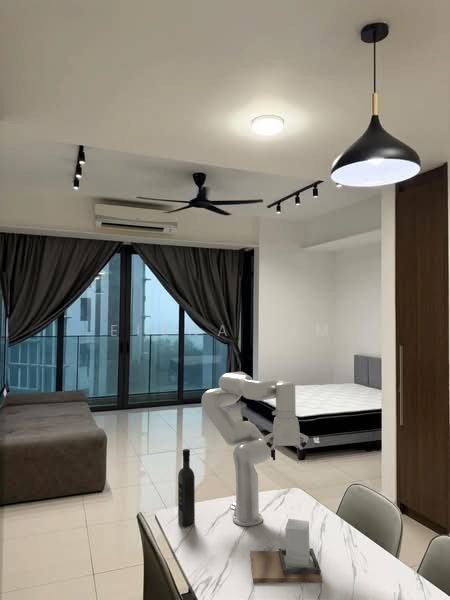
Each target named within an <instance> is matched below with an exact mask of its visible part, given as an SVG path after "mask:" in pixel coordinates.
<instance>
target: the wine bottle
mask: <svg viewBox="0 0 450 600" xmlns="http://www.w3.org/2000/svg"><path fill="white" fill-rule="evenodd" d="M190 455H191V450H190V449H188V448H184V449H182V467H181V469H179V471H178V475H177V504H178V505H177V521H178V522H177V523H178V524H179V525H180V526H181V527H183V528H187V526H188V527H190V526H191V525H192V526H195V525H196V523H195V522H196V515H195V514H196V513H195V511H196V509H195V507H196V506H195V503H196V502H195V501H196V499H195V498H196V497H195V496H196V495H195V493H196V490H195V485H196V483H195V482H196V481H195V479H196V478H195V473H194V472H195V471H193V469H192V468H191V466H190V465H191V464H190V458H191V457H190Z"/></svg>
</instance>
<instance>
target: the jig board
mask: <svg viewBox="0 0 450 600" xmlns="http://www.w3.org/2000/svg"><path fill="white" fill-rule="evenodd" d="M309 548H310V560H309V567H304V568H294V567H287V561H286V548H285V549H282V548H278V550H250V551H249V558H250V566H251V567H250V568H251V575H252V584H287V583H288V584H294V583H295V584H296V583H297V584H299V583H300V584H301V583H303V584H304V583H306V584H308V583H318V584H319V583H323V577H322V574H321V573H322V569H321V567H320V565H319V562H318V559H317V556H316V554H315V551H314V549H313V548H311V547H309Z"/></svg>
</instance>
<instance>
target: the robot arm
mask: <svg viewBox="0 0 450 600" xmlns="http://www.w3.org/2000/svg"><path fill="white" fill-rule="evenodd" d="M218 386H219V387H217V388H211V389H208V390H206V391H204V393H203V394H202V396H201V407H202V410H203V413H204V414H205V415H206V417H207V419H209V420H210V421H211V423H212V424H213V426H215V428H216V430H217V431H218V433H220V436H221V437H222V439H223V440H224V441H225V443H226V444H227V445H228V446H231V447H235V448H234V449H233V452H232V453H233V454H232V457H233V463H234V470H235V502H233V503H232V504H231V506H230V508H229V509H230V510H231V511H234V512H233V513H234V514H232V521H233V523H235V524H236V525H238V526H243V527H254V526H257V525H260V524H261V523H262V521H263V515H262V514H261V513H260V511H259V509H260V505H259V503H260V502H259V501H260V500H259V498H260V497H259V473H258V471H257V470H256V469H255V466H256V465H258V464H261V463H264V462H267V461H269V459H270V458H272V460H273V461H276V449H275V448H276V447H277V446H282V447H283V446H284V447H285V446H288V447H289V446H290V447H291V446H296V447H297V448H296V456H297V457H296V458H297V460H298V461H301V458H302V457H303V454H302V453H303V449H304V448H305V446H306V445H307V443H308V441H309V436H308V435H305V434H304V433H301V432H300V424H299V419H298V417H296V409H297V408H296V385H295V383H294V382H292V381H284V380H281V379H278V378H273V379H263V380H254V379H253V378H252V376H250V375H248V374H247V373H245V372H244V371H234V372H228V373H227V372H226V373H223V374H222V375H221V376H220V377H219V379H218ZM242 396H243V398H245V399H248V400H254V401H266V400H272V399H275V410H273V411H271V414H272V416H275V417H274V419H273V424H272V425H273V426H272V432H271V433H268V434H267V435H265V436H264V435H263V434H262V433H261V431H260V430H259V428H258V427H257V426H256V425H255V424H254V423H253V422H251V421H249V420H248V421H247V420H244V421H236V420H235V419H234V418H233V416H232V415H231V414H230V413H229V411H227V410H225V409H223V408H222V407H228V406H232V405H234V404H236V403H237V402H238V401H239V400H240V398H241V397H242ZM271 438H272V443H271V442H270V439H271ZM301 438H302V439H303V441H302V442H301Z"/></svg>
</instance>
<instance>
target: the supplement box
mask: <svg viewBox="0 0 450 600" xmlns="http://www.w3.org/2000/svg"><path fill="white" fill-rule="evenodd" d="M309 522H310V521H309V520H303V519H295V518H294V519H292V518H288V519H287V522H286V526H285V529H284V530H285V549H286V561H287V567H294V568H304V567H309V560H310V548H311V547H310V524H309Z"/></svg>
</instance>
